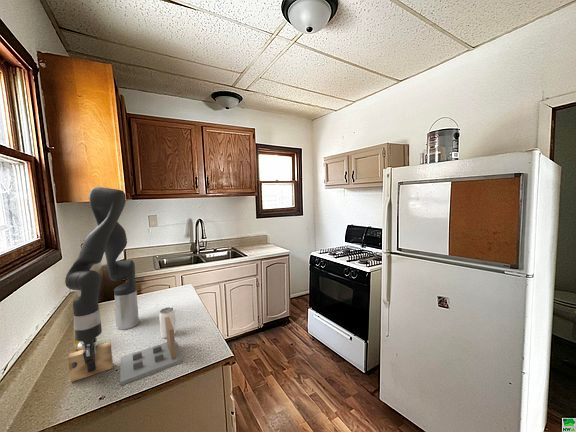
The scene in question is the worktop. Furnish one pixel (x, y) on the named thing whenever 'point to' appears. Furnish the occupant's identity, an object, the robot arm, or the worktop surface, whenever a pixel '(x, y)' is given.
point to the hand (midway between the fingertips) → (92, 368)
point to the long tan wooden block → (80, 369)
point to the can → (163, 314)
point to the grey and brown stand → (151, 358)
